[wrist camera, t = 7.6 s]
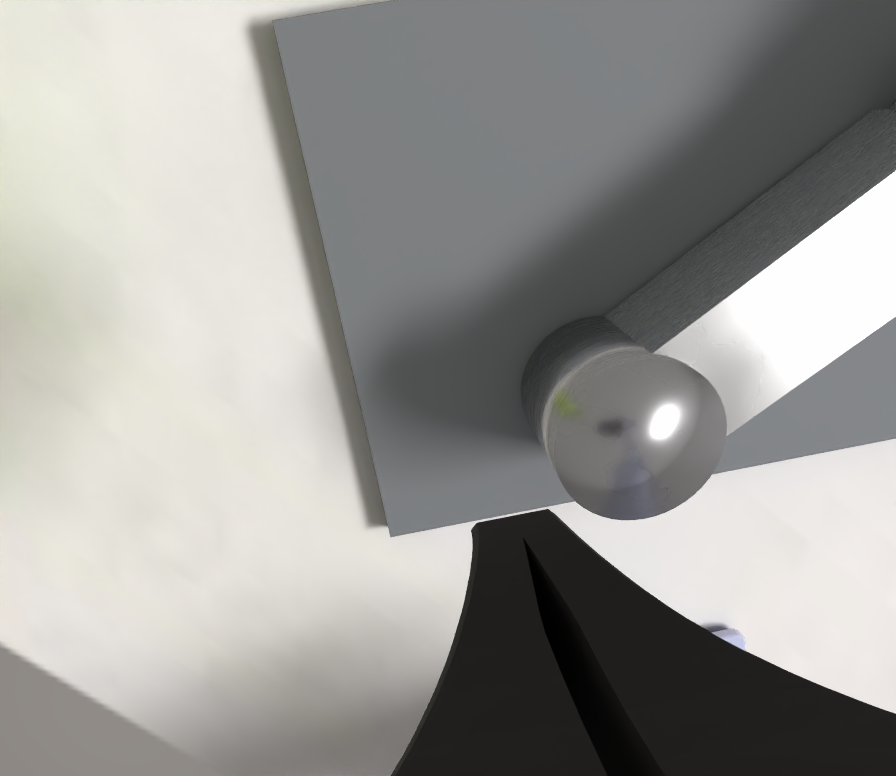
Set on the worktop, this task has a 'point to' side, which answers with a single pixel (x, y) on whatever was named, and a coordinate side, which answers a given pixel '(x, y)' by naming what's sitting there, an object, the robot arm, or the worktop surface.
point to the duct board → (557, 206)
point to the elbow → (721, 332)
